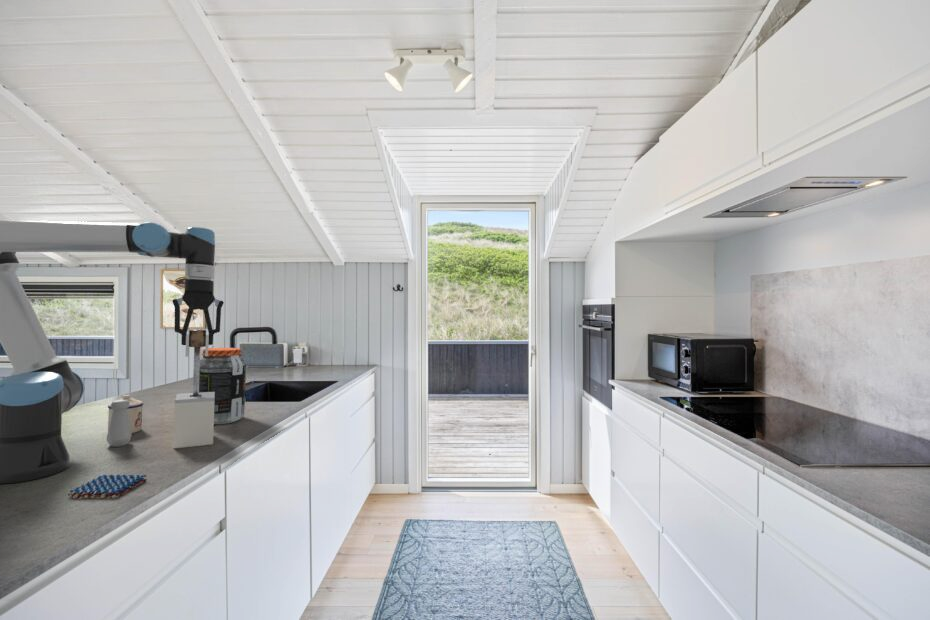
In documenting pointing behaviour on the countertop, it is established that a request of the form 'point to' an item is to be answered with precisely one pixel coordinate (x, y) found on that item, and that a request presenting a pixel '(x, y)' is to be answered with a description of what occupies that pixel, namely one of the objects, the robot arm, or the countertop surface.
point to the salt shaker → (119, 424)
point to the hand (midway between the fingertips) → (197, 355)
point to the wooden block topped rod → (196, 355)
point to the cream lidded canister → (131, 413)
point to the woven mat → (107, 486)
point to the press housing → (193, 419)
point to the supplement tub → (224, 382)
